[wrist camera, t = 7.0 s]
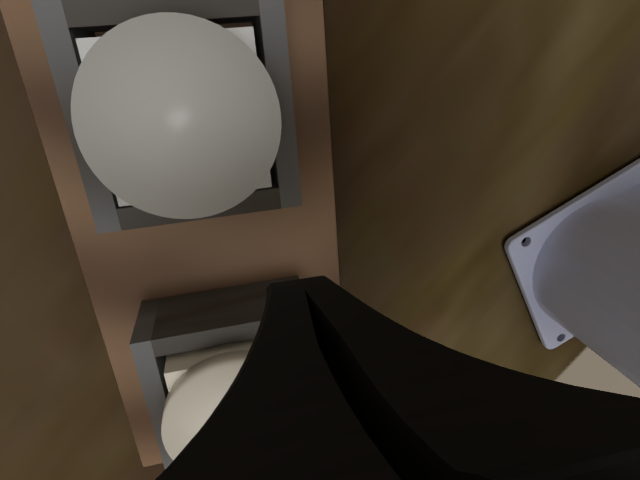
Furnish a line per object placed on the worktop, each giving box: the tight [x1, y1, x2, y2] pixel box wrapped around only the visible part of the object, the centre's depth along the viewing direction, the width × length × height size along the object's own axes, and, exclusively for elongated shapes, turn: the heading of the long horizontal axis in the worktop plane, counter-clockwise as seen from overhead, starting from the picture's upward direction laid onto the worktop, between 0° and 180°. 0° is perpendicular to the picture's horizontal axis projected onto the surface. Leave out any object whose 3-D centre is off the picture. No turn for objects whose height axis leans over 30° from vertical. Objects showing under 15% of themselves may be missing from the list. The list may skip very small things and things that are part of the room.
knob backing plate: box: [0, 0, 340, 469], centre depth 15 cm, size 32×10×4 cm, turn 4°
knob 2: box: [161, 339, 254, 460], centre depth 18 cm, size 5×5×4 cm
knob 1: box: [71, 12, 282, 219], centre depth 14 cm, size 5×5×4 cm
